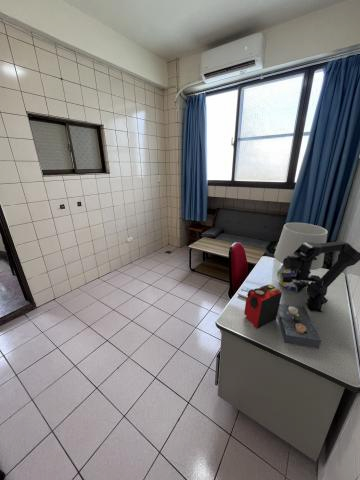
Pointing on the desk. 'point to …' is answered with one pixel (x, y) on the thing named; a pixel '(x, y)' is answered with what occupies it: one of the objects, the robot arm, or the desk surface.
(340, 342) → the desk surface
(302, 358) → the desk surface
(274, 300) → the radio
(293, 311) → the knob
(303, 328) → the knob
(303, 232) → the table lamp
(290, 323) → the panel
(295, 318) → the black and brass dome
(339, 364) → the desk surface
